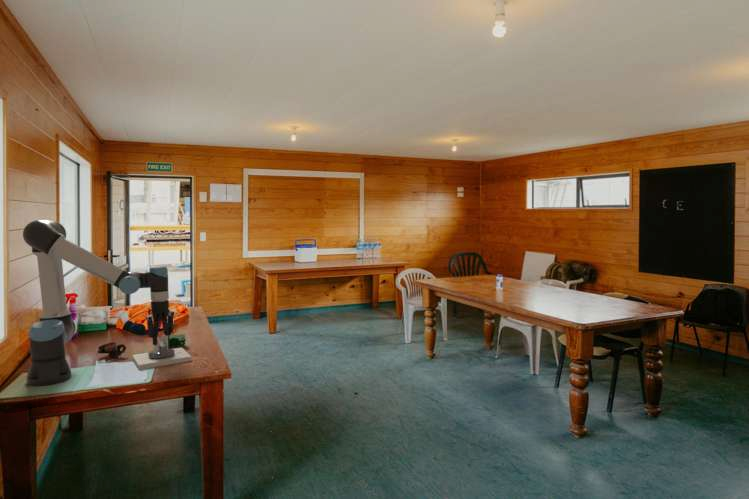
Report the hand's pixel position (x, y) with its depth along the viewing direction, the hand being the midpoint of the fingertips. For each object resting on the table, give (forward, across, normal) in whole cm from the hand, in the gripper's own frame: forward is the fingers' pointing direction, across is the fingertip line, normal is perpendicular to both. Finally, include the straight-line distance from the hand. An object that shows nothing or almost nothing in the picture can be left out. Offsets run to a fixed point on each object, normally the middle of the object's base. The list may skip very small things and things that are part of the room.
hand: (161, 350), depth 222 cm
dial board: (+5, 0, 0) cm, 5 cm away
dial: (+2, 0, 0) cm, 2 cm away
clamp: (+5, -16, -13) cm, 21 cm away
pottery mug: (+5, +9, -23) cm, 26 cm away
